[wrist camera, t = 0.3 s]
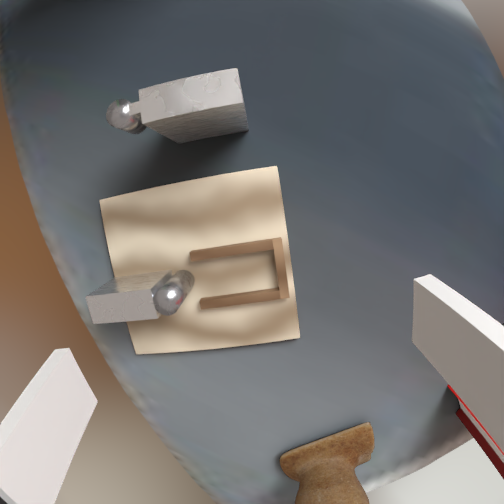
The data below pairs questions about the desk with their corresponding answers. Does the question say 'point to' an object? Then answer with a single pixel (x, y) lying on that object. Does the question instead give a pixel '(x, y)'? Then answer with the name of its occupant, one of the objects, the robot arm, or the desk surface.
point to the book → (480, 435)
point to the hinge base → (209, 259)
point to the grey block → (185, 108)
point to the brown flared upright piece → (330, 467)
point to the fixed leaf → (140, 296)
